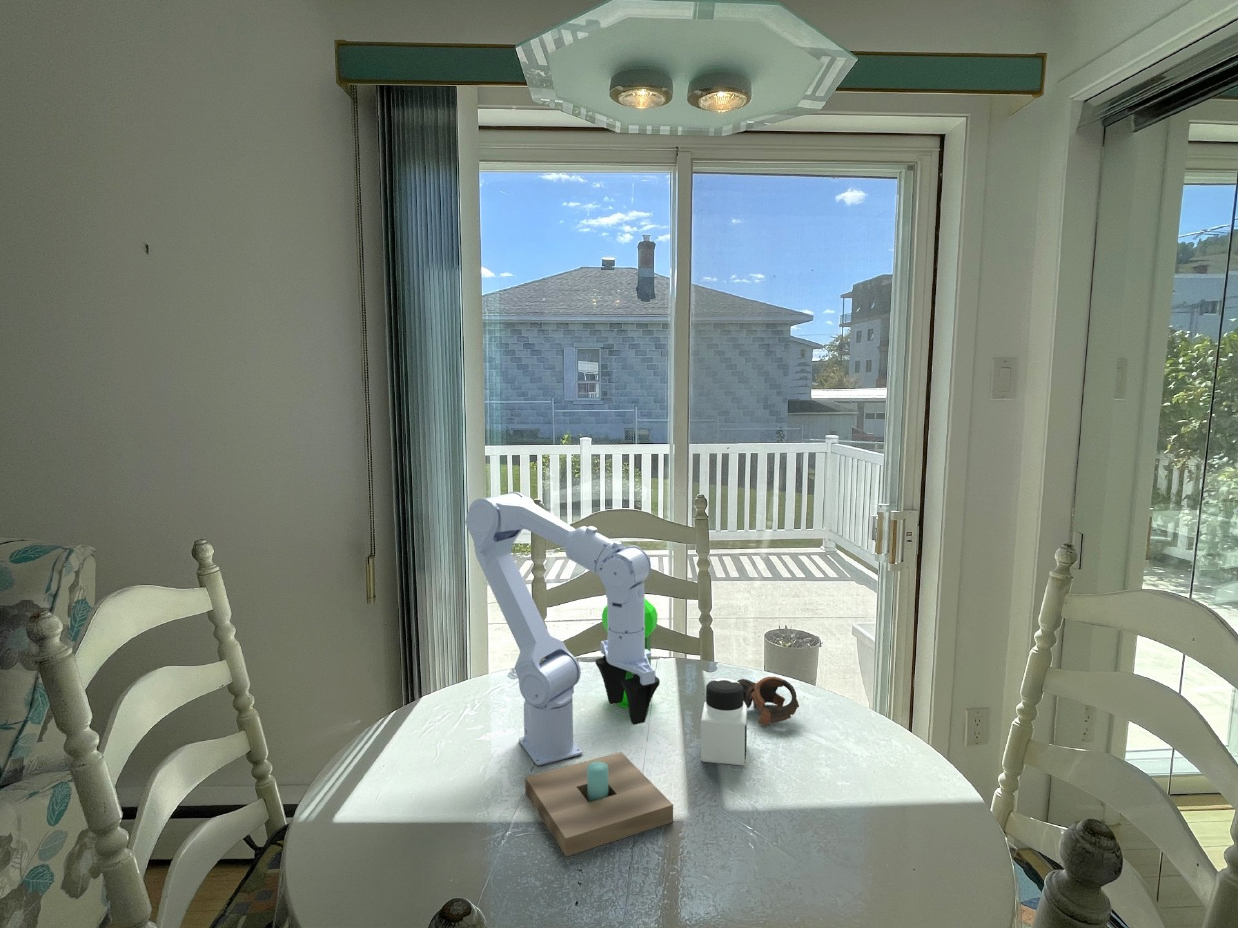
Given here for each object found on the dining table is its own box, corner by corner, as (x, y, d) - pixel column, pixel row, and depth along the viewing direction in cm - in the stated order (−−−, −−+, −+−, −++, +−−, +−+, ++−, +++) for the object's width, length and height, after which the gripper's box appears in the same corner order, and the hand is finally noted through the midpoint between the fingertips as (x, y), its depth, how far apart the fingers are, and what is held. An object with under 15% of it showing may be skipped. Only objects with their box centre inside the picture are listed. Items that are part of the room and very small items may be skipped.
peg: (583, 804, 100) (583, 765, 99) (601, 798, 102) (601, 759, 101) (594, 815, 97) (593, 774, 97) (612, 808, 99) (612, 768, 98)
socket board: (525, 793, 103) (525, 777, 103) (621, 766, 110) (621, 751, 110) (566, 856, 89) (565, 838, 88) (673, 821, 96) (673, 804, 96)
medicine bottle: (745, 766, 110) (746, 694, 109) (700, 762, 111) (700, 690, 110) (746, 744, 117) (747, 675, 116) (704, 740, 118) (704, 672, 117)
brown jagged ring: (798, 709, 131) (806, 682, 126) (785, 750, 124) (793, 723, 119) (738, 684, 135) (743, 657, 130) (721, 722, 128) (727, 695, 123)
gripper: (672, 637, 101) (672, 726, 103) (627, 610, 114) (628, 689, 116) (630, 645, 98) (630, 736, 99) (588, 616, 111) (589, 697, 112)
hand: (626, 712), depth 107 cm, fingers open, 7 cm apart
